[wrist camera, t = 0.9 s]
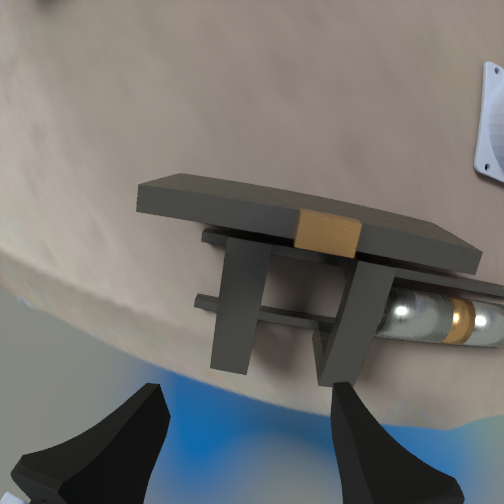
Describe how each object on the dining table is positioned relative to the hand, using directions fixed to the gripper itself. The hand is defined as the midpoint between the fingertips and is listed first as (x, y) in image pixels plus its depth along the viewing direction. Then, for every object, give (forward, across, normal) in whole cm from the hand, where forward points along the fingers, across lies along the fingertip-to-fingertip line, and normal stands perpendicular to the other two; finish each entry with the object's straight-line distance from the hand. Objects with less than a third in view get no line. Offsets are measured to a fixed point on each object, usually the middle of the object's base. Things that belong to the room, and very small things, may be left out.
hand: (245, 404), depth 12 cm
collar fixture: (+9, -7, -1) cm, 12 cm away
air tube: (+9, -13, +1) cm, 16 cm away
